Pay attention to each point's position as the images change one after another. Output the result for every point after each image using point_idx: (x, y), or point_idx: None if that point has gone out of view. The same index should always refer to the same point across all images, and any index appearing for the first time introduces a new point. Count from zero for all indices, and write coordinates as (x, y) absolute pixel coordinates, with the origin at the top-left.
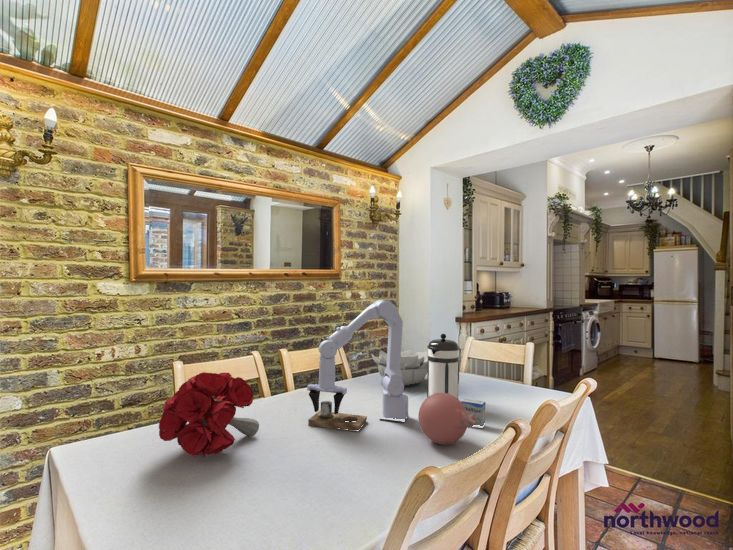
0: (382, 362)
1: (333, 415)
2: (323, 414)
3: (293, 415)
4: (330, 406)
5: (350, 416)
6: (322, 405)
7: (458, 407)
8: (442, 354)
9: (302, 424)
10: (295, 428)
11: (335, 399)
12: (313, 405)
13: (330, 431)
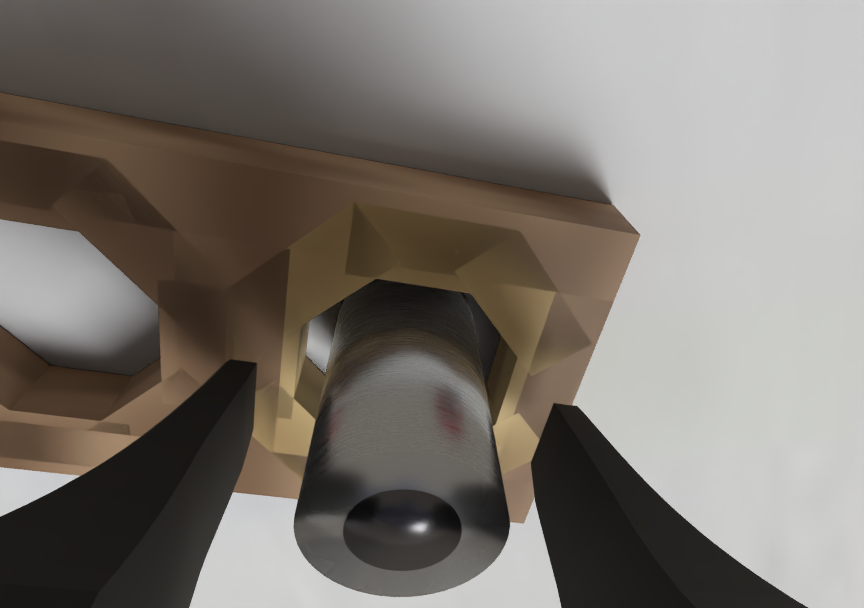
0: None
1: None
2: (428, 338)
3: (797, 454)
4: (311, 454)
5: (86, 419)
6: (459, 441)
7: None
8: None
9: (691, 225)
10: (787, 66)
11: (96, 532)
12: (631, 467)
13: (253, 20)
